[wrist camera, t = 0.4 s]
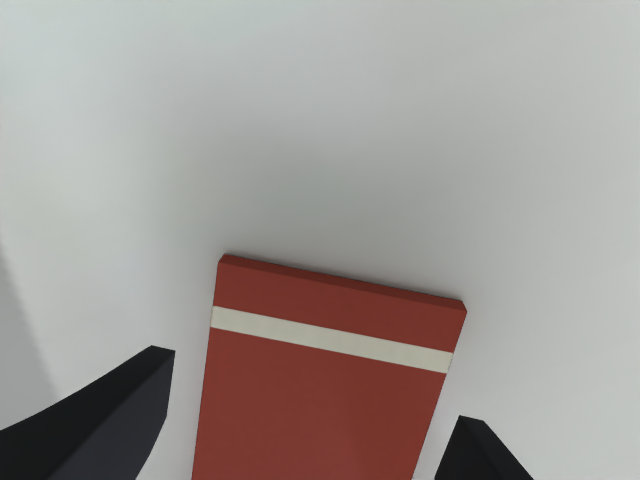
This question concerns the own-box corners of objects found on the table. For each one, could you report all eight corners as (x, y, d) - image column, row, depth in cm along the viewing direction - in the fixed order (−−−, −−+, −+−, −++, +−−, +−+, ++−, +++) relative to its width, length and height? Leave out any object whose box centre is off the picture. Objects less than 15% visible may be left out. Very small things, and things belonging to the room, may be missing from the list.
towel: (374, 572, 27) (374, 591, 26) (187, 536, 27) (181, 553, 26) (462, 300, 21) (468, 311, 20) (223, 253, 21) (217, 261, 20)
